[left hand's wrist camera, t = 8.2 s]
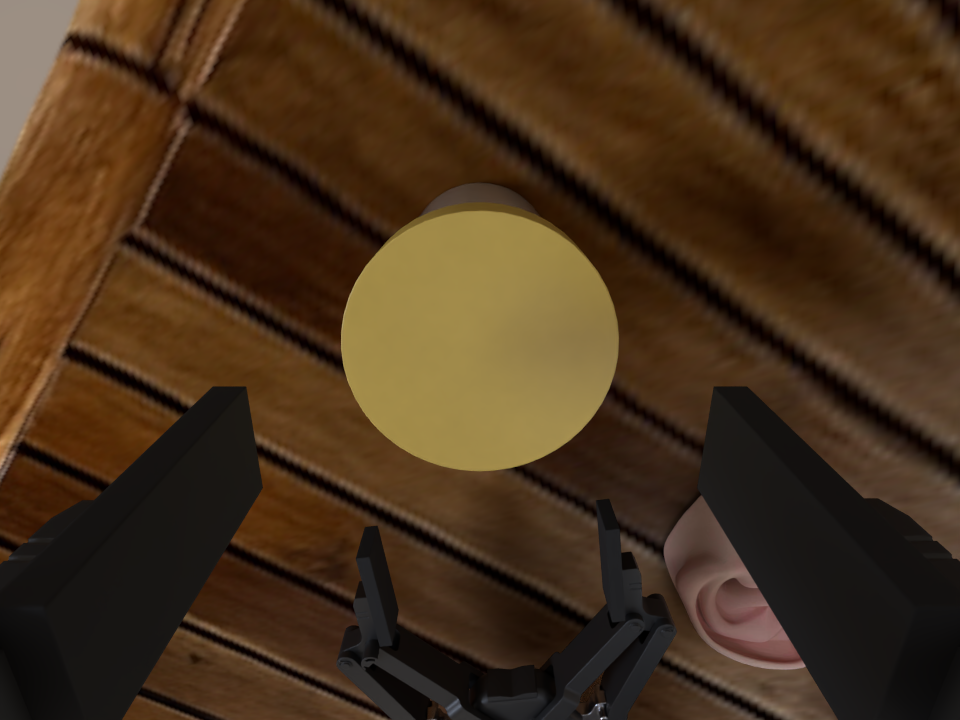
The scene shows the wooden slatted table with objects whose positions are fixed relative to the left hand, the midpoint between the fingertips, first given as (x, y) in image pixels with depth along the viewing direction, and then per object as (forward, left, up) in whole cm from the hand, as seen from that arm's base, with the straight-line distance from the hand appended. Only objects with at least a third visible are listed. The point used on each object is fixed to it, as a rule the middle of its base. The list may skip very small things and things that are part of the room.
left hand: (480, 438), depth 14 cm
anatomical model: (-27, +8, -21) cm, 36 cm away
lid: (0, 0, -6) cm, 6 cm away
